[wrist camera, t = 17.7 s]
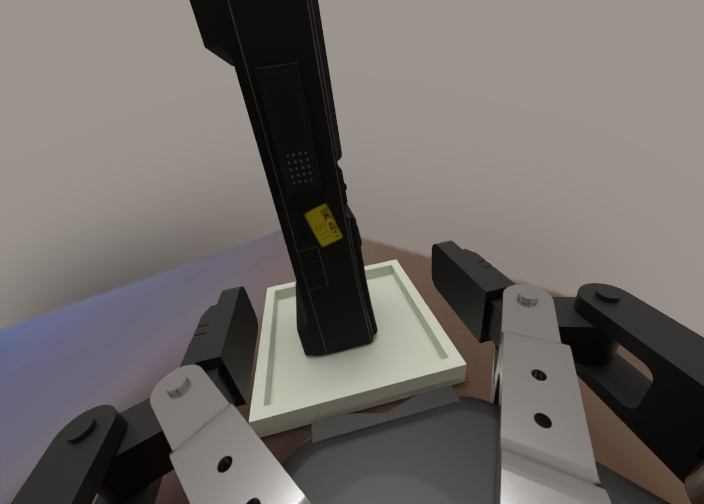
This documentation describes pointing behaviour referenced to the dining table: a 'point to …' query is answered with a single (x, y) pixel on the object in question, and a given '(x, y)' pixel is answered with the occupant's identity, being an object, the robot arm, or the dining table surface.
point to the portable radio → (298, 158)
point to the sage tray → (350, 358)
